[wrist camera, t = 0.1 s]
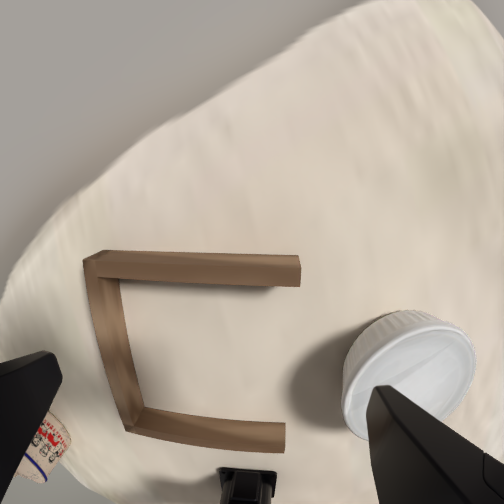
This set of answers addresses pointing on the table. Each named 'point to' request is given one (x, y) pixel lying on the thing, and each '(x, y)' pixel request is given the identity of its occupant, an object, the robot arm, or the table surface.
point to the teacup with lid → (44, 450)
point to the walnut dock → (119, 354)
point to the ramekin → (408, 365)
